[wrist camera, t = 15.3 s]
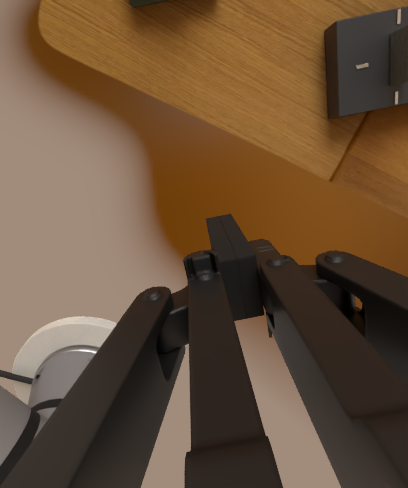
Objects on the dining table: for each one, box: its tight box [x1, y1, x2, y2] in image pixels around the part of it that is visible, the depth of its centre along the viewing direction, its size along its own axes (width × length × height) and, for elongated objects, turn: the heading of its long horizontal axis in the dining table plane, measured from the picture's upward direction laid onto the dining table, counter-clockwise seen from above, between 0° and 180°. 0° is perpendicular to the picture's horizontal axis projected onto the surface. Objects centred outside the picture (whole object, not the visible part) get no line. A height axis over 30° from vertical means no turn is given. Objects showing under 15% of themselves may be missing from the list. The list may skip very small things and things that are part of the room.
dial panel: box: [325, 6, 408, 119], centre depth 36 cm, size 14×10×3 cm
